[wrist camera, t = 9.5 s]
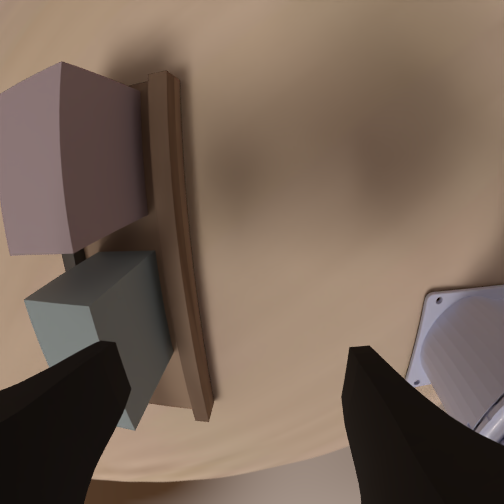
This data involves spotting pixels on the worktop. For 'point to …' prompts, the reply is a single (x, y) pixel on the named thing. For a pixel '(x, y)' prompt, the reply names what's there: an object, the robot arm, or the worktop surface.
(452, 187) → the worktop surface
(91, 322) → the box
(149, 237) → the shelf ledge
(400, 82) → the worktop surface
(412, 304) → the worktop surface
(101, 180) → the box
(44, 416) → the robot arm
